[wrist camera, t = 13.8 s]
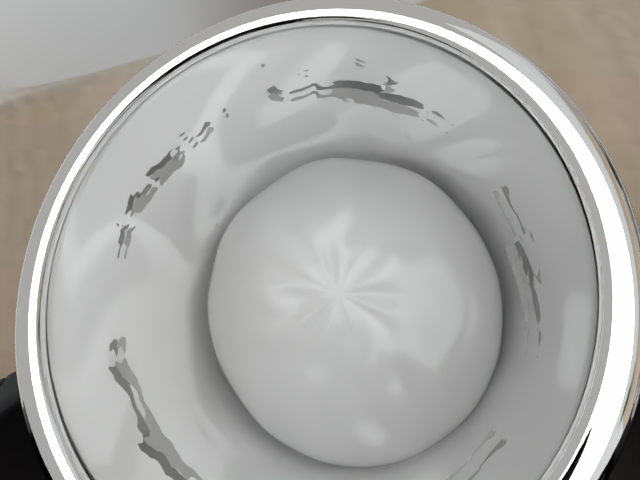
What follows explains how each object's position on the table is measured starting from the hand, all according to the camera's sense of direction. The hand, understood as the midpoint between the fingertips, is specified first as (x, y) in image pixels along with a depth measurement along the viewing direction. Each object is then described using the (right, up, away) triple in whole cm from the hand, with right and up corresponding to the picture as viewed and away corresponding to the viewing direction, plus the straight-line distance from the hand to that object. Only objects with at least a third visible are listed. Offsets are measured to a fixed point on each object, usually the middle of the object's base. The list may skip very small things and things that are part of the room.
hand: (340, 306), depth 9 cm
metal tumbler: (+2, -2, +9) cm, 10 cm away
